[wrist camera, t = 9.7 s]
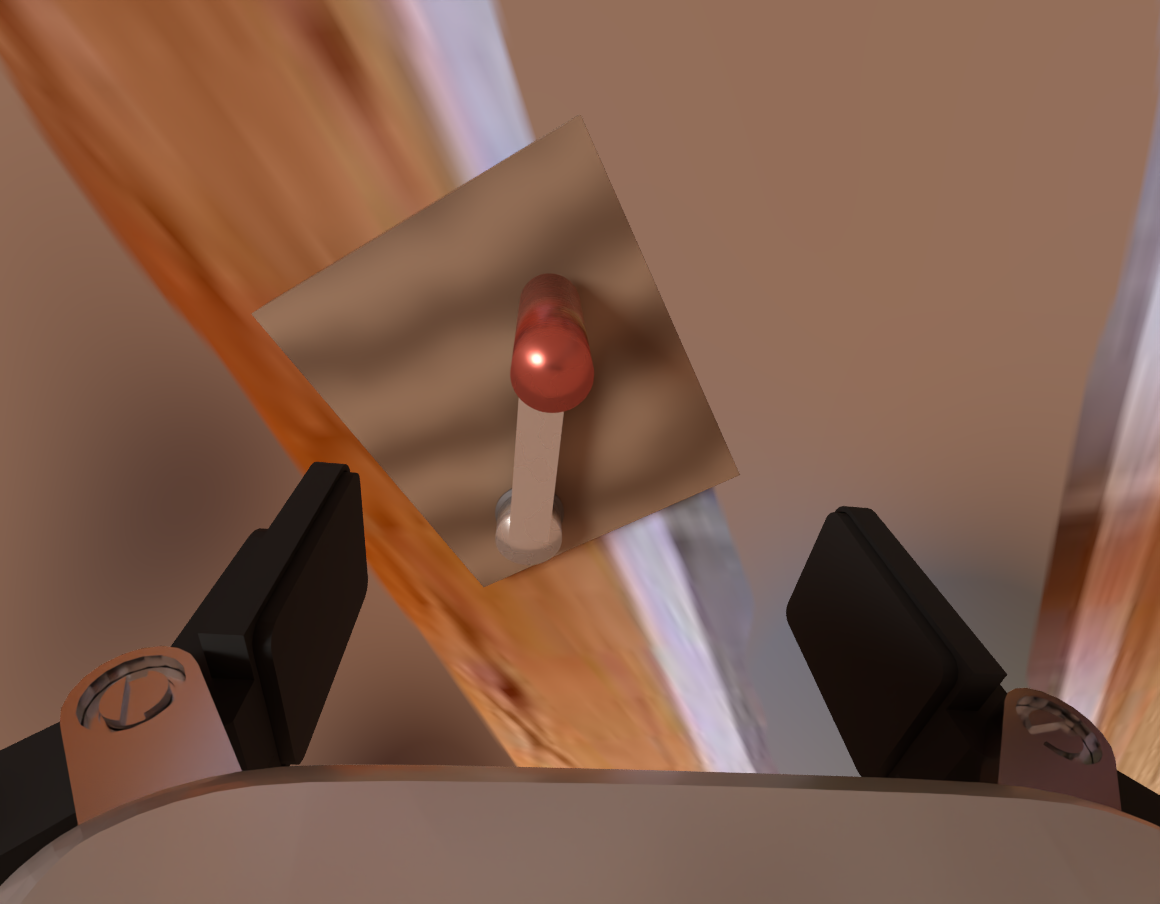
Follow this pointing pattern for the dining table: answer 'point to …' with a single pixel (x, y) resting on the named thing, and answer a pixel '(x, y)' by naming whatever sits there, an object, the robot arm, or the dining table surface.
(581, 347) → the lever
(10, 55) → the dining table surface
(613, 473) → the lever board
